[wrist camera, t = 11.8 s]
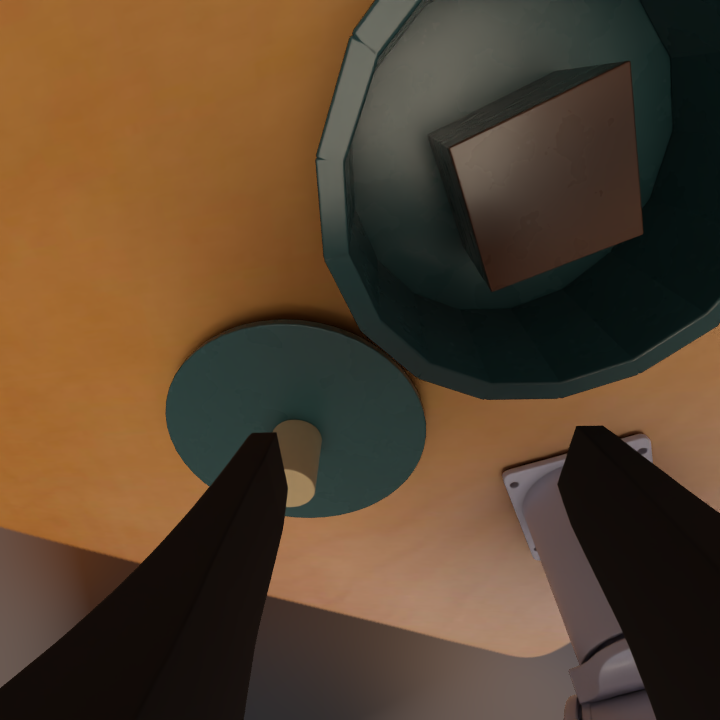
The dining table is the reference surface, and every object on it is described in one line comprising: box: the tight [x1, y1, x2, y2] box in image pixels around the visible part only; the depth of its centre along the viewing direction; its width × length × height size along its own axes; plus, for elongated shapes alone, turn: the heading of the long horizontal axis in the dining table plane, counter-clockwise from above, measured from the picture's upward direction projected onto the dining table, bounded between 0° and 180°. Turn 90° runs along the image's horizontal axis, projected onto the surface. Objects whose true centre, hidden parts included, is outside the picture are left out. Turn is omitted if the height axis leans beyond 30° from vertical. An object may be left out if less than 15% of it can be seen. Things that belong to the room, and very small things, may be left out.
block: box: [428, 61, 643, 292], centre depth 13 cm, size 4×4×4 cm
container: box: [315, 0, 720, 400], centre depth 13 cm, size 12×12×6 cm
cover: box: [166, 319, 426, 518], centre depth 20 cm, size 13×13×4 cm
